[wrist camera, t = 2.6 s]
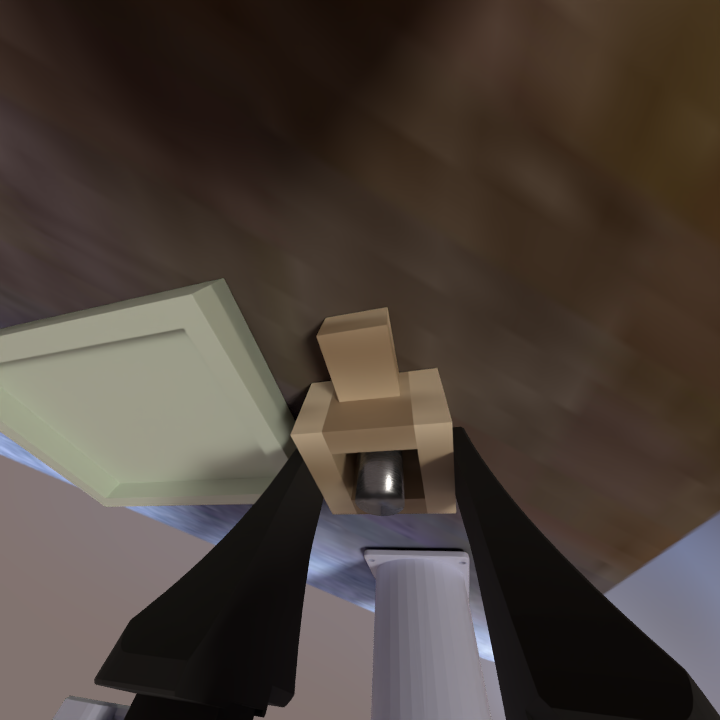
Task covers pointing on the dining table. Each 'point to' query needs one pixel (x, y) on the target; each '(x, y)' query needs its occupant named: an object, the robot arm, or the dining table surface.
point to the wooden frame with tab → (375, 417)
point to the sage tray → (148, 400)
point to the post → (380, 483)
